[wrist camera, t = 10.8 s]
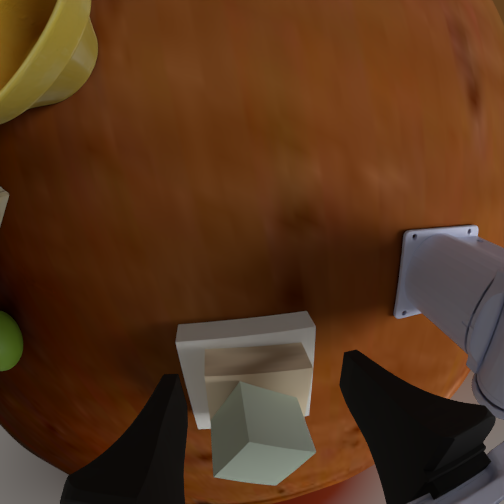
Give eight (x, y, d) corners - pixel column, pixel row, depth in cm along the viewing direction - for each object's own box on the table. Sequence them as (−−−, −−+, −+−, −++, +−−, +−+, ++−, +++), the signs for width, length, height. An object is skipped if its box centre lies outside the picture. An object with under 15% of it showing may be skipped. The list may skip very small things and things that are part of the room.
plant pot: (148, 72, 16) (98, 14, 7) (34, 158, 17) (-58, 172, 8) (98, -18, 13) (49, -83, 4) (-3, 63, 14) (-80, 43, 4)
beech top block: (301, 342, 21) (313, 367, 19) (293, 405, 24) (302, 431, 21) (204, 349, 21) (204, 376, 18) (211, 412, 23) (212, 439, 20)
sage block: (296, 397, 19) (316, 452, 15) (264, 433, 20) (275, 485, 16) (239, 381, 18) (249, 441, 13) (210, 420, 19) (213, 476, 14)
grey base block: (304, 307, 24) (315, 326, 21) (301, 394, 27) (308, 415, 24) (178, 320, 23) (175, 341, 20) (198, 406, 26) (198, 429, 23)
